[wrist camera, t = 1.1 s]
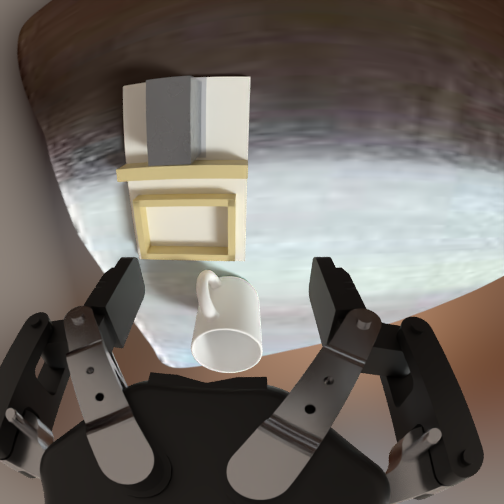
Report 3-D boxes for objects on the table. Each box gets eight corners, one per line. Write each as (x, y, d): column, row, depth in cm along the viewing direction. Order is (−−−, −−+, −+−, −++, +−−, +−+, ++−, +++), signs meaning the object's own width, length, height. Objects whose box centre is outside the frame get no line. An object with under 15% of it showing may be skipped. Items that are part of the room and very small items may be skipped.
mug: (178, 262, 36) (160, 314, 27) (236, 242, 35) (233, 293, 26) (215, 323, 42) (210, 377, 33) (266, 310, 41) (271, 364, 32)
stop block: (164, 84, 24) (145, 80, 19) (201, 81, 24) (191, 75, 19) (165, 154, 28) (148, 166, 23) (201, 153, 28) (191, 164, 23)
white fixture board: (126, 86, 25) (112, 85, 21) (250, 77, 25) (250, 73, 22) (141, 255, 36) (132, 270, 32) (245, 257, 36) (245, 273, 33)
